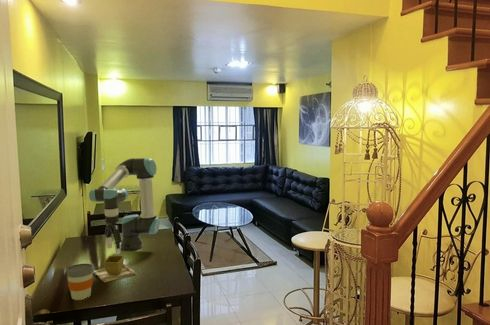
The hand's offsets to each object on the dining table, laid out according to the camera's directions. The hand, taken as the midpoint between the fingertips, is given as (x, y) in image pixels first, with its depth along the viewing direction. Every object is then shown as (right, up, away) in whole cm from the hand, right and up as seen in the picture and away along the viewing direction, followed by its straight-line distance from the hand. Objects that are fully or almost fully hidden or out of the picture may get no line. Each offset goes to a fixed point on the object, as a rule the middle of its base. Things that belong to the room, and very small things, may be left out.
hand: (113, 251), depth 224 cm
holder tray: (0, -14, +1) cm, 14 cm away
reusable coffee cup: (-7, -17, -29) cm, 34 cm away
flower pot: (+1, -13, 0) cm, 13 cm away
